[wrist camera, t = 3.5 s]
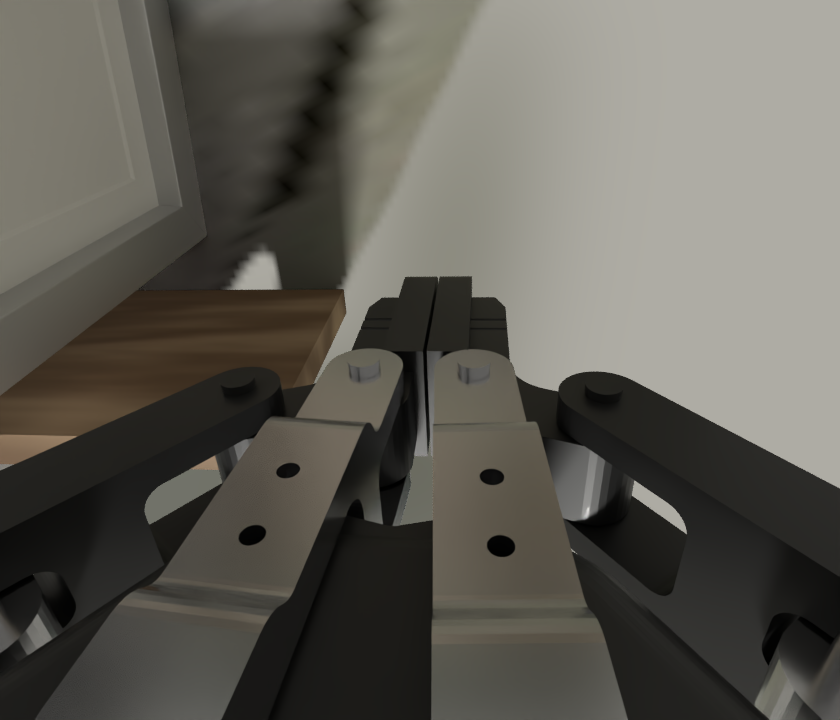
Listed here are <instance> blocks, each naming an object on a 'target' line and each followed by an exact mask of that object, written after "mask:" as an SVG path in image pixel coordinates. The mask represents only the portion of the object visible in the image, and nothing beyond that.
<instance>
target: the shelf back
mask: <svg viewBox="0 0 840 720" xmlns="http://www.w3.org/2000/svg"><path fill="white" fill-rule="evenodd" d="M345 314H346V306H345V297H344V289H310V290H148V291H135V292H134V293H132V294H131V295H130V296H129V297H127V298H126V299H125V300H123V301H122V302H121V303H120V304H118V305H117V306H116V307H114V308H113V309H112V310H110V311H109V312H108V313H107V314H105V315H104V316H103V317H101V318H100V319H99V320H97V321H96V322H95V323H94V324H92V325H91V326H90V327H88V328H87V329H86V330H85V331H83V332H82V333H81V334H79V335H78V336H77V337H75V338H74V339H73V340H72V341H70V342H69V343H68V344H66V345H65V346H64V347H63V348H61V349H60V350H59V351H57V352H56V353H55V354H53V355H52V356H51V357H50V358H48V359H47V360H46V361H44V362H43V363H42V364H41V365H39V366H38V367H37V368H35V369H34V370H33V371H31V372H30V373H29V374H28V375H26V376H25V377H24V378H22V379H21V380H20V381H19V382H17V383H16V384H15V385H13V386H12V387H11V388H9V389H8V390H7V391H6V392H4V393H3V394H2V395H0V464H17V463H19V462H21V461H23V460H26V459H28V458H30V457H32V456H35V455H37V454H39V453H41V452H44V451H46V450H48V449H50V448H53V447H55V446H57V445H59V444H62V443H64V442H66V441H68V440H71V439H73V438H75V437H77V436H80V435H82V434H84V433H86V432H89V431H91V430H93V429H95V428H98V427H100V426H102V425H104V424H107V423H109V422H111V421H114V420H116V419H118V418H120V417H123V416H125V415H127V414H129V413H132V412H134V411H136V410H138V409H141V408H143V407H145V406H147V405H150V404H152V403H154V402H156V401H159V400H161V399H163V398H165V397H168V396H170V395H172V394H174V393H177V392H179V391H181V390H183V389H186V388H188V387H190V386H192V385H195V384H197V383H199V382H201V381H204V380H206V379H208V378H210V377H213V376H215V375H217V374H220V373H222V372H225V371H228V370H231V369H236V368H241V367H263V368H267V369H270V370H272V371H274V372H275V373H277V374H278V376H279V377H280V381H281V386H282V390H283V389H289V388H295V387H300V386H306V385H311V384H313V383H314V381H315V379H316V377H317V374H318V372H319V370H320V368H321V366H322V364H323V362H324V360H325V357H326V355H327V353H328V351H329V349H330V347H331V345H332V342H333V340H334V338H335V336H336V334H337V331H338V329H339V327H340V325H341V323H342V321H343V319H344V317H345ZM191 469H207V470H208V469H209V470H219V469H218V465H217V462H216V458H215V456H213V457H211V458H210V459H208V460H206V461H204V462H202V463H200V464H198V465H197V466H195V467H193V468H191Z"/></svg>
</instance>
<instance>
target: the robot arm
mask: <svg viewBox="0 0 840 720" xmlns="http://www.w3.org/2000/svg"><path fill="white" fill-rule="evenodd" d="M429 442H430V443H431V456H433V520H432V521H426V522H419V523H413V524H406V525H401V521H402V517H403V513H404V510H405V506H406V502H407V499H408V495H409V491H410V487H411V478H410V470H411V468H412V465H413V459H414V456H428V449H429ZM213 456H215V458H216V462H217V465H218V469H219V472H220V476H221V479H222V484H220V485H218V486H216V487H215V488H213V489H211V490H210V491H208V492H206V493H204V494H203V495H201V496H199V497H198V498H196V499H194V500H192V501H190V502H189V503H187V504H185V505H183V506H182V507H180V508H178V509H177V510H175V511H173V512H172V513H170V514H168V515H166V516H164V517H163V518H161V519H159V520H157V521H156V522H154V523H152V524H150V525H149V524H148V521H147V519H146V516H145V512H144V508H145V503H146V500H147V499H148V497H149V495H150V494H151V493H152V492H153V491H154V490H155V489H156V488H157V487H158V486H160V485H161V484H163V483H165V482H167V481H168V480H171V479H172V478H174V477H176V476H178V475H180V474H181V473H184V472H185V471H187V470H189V469H191V468H193V467H195V466H197V465H198V464H200V463H202V462H204V461H206V460H208V459H210V458H211V457H213ZM634 480H635V481H637V482H638V483H639V484H641V485H642V486H644V487H645V488H647V489H648V490H650V491H651V492H653V493H654V494H656V495H657V496H659V497H660V498H661V499H663V500H664V501H666V502H667V503H669V504H670V505H671V506H672V507H673V508H675V509H676V511H677V512H678V513H679V514H680V516H681V517H682V519H683V521H684V523H685V526H686V530H687V534H685V533H684V532H683V531H681V530H679V529H678V528H677V527H675V526H674V525H673V524H671V523H670V522H668V521H667V520H666V519H664V518H663V517H661V516H660V515H658V514H657V513H655V512H654V511H653V510H651V509H650V508H649V507H647V506H646V505H644V504H643V503H641V502H640V501H639V500H637V499H636V498H634V497H633V496H632V490H633V485H634ZM571 549H573V550H574V551H575V552H576V553H577V554H576V553H574V552H572V551H571ZM33 574H34V575H33ZM0 720H840V489H839V488H837V487H836V486H834V485H832V484H830V483H828V482H826V481H824V480H822V479H820V478H818V477H816V476H815V475H813V474H811V473H809V472H806V471H805V470H803V469H801V468H799V467H797V466H795V465H794V464H791V463H790V462H788V461H786V460H784V459H782V458H780V457H778V456H776V455H774V454H772V453H770V452H768V451H766V450H765V449H763V448H761V447H759V446H757V445H755V444H753V443H751V442H749V441H747V440H746V439H744V438H742V437H740V436H738V435H736V434H734V433H732V432H730V431H728V430H727V429H725V428H723V427H721V426H719V425H717V424H715V423H713V422H711V421H709V420H707V419H705V418H703V417H701V416H700V415H698V414H696V413H694V412H692V411H690V410H688V409H686V408H684V407H682V406H680V405H679V404H677V403H675V402H673V401H671V400H669V399H667V398H665V397H663V396H661V395H659V394H657V393H656V392H654V391H652V390H650V389H648V388H646V387H644V386H642V385H640V384H638V383H636V382H635V381H633V380H631V379H628V378H626V377H623V376H620V375H616V374H613V373H607V372H583V373H578V374H575V375H572V376H570V377H568V378H566V379H565V380H564V381H562V383H561V384H560V386H559V391H558V392H557V391H552V390H548V389H543V388H539V387H536V386H533V385H530V384H528V383H526V382H524V381H523V380H521V379H519V378H518V377H517V376H516V375H515V371H514V367H513V365H512V363H511V362H510V359H509V347H508V335H507V323H506V310H505V306H503V305H502V304H501V303H500V302H499V301H498V300H497V299H496V298H494V297H490V298H489V297H486V298H483V297H481V298H479V297H476V298H475V297H473V298H472V277H469V276H467V277H466V276H465V277H464V276H463V277H440V278H439V283H438V278H437V277H405V279H404V282H403V286H402V289H401V292H400V295H399V298H381V299H380V300H379V301H377V302H376V303H375V304H373V305H372V306H370V307H369V309H368V312H367V314H366V317H365V321H363V324H362V326H361V330H360V331H359V334H358V336H357V338H356V341H355V343H354V346H353V348H352V351H349V352H346V353H344V354H341V355H339V356H337V357H335V358H334V359H332V360H331V361H330V363H329V364H328V365H327V366H326V368H325V370H324V371H323V373H322V375H321V376H320V378H319V379H318V381H317V383H315V384H311V385H306V386H300V387H295V388H289V389H283V390H282V386H281V381H280V377H279V376H278V374H277V373H275V372H274V371H272V370H270V369H267V368H263V367H241V368H236V369H231V370H228V371H225V372H222V373H220V374H217V375H215V376H213V377H210V378H208V379H206V380H204V381H201V382H199V383H197V384H195V385H192V386H190V387H188V388H186V389H183V390H181V391H179V392H177V393H174V394H172V395H170V396H168V397H165V398H163V399H161V400H159V401H156V402H154V403H152V404H150V405H147V406H145V407H143V408H141V409H138V410H136V411H134V412H132V413H129V414H127V415H125V416H123V417H120V418H118V419H116V420H114V421H111V422H109V423H107V424H104V425H102V426H100V427H98V428H95V429H93V430H91V431H89V432H86V433H84V434H82V435H80V436H77V437H75V438H73V439H71V440H68V441H66V442H64V443H62V444H59V445H57V446H55V447H53V448H50V449H48V450H46V451H44V452H41V453H39V454H37V455H35V456H32V457H30V458H28V459H26V460H23V461H21V462H19V463H17V464H14V465H12V466H10V467H8V468H5V469H3V470H1V471H0Z"/></svg>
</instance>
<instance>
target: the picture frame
mask: <svg viewBox="0 0 840 720" xmlns="http://www.w3.org/2000/svg"><path fill="white" fill-rule="evenodd" d="M206 236H207V231H206V225H205V219H204V214H203V208H202V202H201V196H200V190H199V184H198V178H197V172H196V166H195V160H194V154H193V149H192V143H191V137H190V131H189V125H188V119H187V113H186V107H185V101H184V95H183V89H182V84H181V78H180V72H179V66H178V60H177V54H176V48H175V42H174V36H173V30H172V24H171V19H170V13H169V7H168V1H167V0H0V395H2V394H3V393H4V392H6V391H7V390H8V389H9V388H11V387H12V386H13V385H15V384H16V383H17V382H19V381H20V380H21V379H22V378H24V377H25V376H26V375H28V374H29V373H30V372H31V371H33V370H34V369H35V368H37V367H38V366H39V365H41V364H42V363H43V362H44V361H46V360H47V359H48V358H50V357H51V356H52V355H53V354H55V353H56V352H57V351H59V350H60V349H61V348H63V347H64V346H65V345H66V344H68V343H69V342H70V341H72V340H73V339H74V338H75V337H77V336H78V335H79V334H81V333H82V332H83V331H85V330H86V329H87V328H88V327H90V326H91V325H92V324H94V323H95V322H96V321H97V320H99V319H100V318H101V317H103V316H104V315H105V314H107V313H108V312H109V311H110V310H112V309H113V308H114V307H116V306H117V305H118V304H120V303H121V302H122V301H123V300H125V299H126V298H127V297H129V296H130V295H131V294H132V293H134V292H135V291H136V290H138V289H139V288H140V287H142V286H143V285H144V284H145V283H147V282H148V281H149V280H151V279H152V278H153V277H154V276H156V275H157V274H158V273H160V272H161V271H162V270H164V269H165V268H166V267H167V266H169V265H170V264H171V263H173V262H174V261H175V260H176V259H178V258H179V257H180V256H182V255H183V254H184V253H186V252H187V251H188V250H189V249H191V248H192V247H193V246H195V245H196V244H197V243H198V242H200V241H201V240H202V239H204V238H205V237H206Z"/></svg>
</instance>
